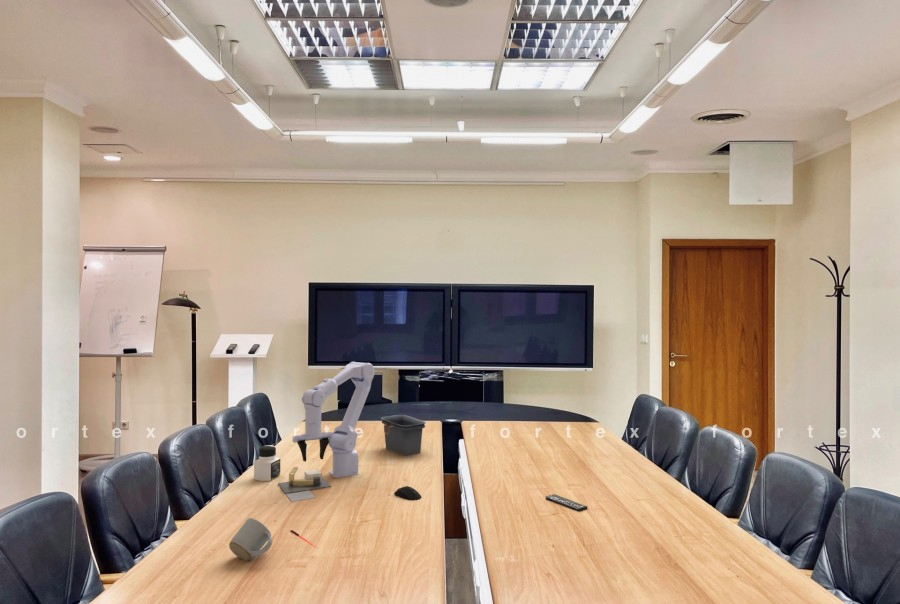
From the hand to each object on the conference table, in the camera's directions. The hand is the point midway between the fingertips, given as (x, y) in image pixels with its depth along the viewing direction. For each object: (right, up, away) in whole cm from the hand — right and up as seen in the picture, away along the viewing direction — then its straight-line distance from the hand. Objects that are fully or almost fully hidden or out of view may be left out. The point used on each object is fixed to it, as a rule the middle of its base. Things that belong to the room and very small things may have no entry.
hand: (313, 459), depth 207 cm
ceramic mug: (-1, -9, -61) cm, 62 cm away
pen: (+10, -9, -50) cm, 52 cm away
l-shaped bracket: (-2, -8, -1) cm, 8 cm away
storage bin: (+28, -9, +45) cm, 54 cm away
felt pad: (-1, -9, -14) cm, 17 cm away
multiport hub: (+88, -10, -22) cm, 91 cm away
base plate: (-2, -9, -3) cm, 10 cm away
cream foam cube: (0, -8, 0) cm, 8 cm away
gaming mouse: (+37, -10, -15) cm, 41 cm away
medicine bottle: (-19, -9, +7) cm, 22 cm away
